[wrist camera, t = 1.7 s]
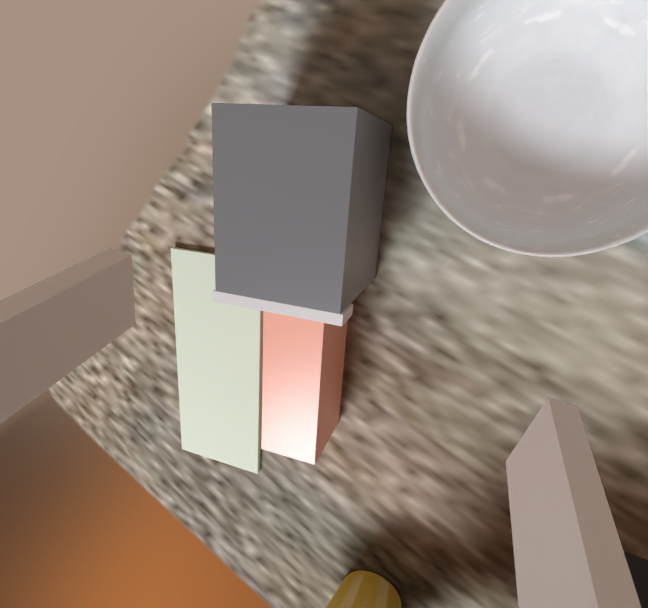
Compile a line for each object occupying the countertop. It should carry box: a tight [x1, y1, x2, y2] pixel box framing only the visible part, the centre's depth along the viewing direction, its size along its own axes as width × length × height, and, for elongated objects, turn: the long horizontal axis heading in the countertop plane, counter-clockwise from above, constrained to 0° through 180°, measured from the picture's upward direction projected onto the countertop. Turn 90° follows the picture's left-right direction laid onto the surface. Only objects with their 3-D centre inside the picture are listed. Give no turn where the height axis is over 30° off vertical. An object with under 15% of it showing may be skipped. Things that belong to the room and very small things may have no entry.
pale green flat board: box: [171, 247, 263, 474], centre depth 44 cm, size 24×10×1 cm, turn 176°
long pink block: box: [261, 311, 348, 465], centre depth 35 cm, size 20×5×7 cm, turn 176°
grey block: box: [212, 103, 392, 326], centre depth 30 cm, size 13×10×10 cm
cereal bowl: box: [406, 0, 648, 257], centre depth 25 cm, size 17×17×7 cm
